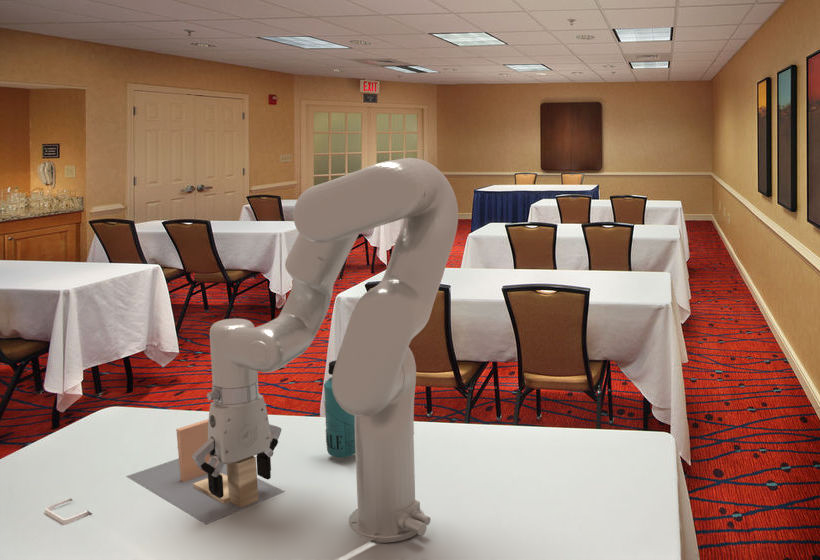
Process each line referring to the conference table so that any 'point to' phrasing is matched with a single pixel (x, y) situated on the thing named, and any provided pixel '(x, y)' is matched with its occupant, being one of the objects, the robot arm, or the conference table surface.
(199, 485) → the stepped wooden block
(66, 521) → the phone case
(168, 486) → the slate board
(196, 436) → the tile
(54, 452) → the conference table surface
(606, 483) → the conference table surface
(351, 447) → the beverage bottle
